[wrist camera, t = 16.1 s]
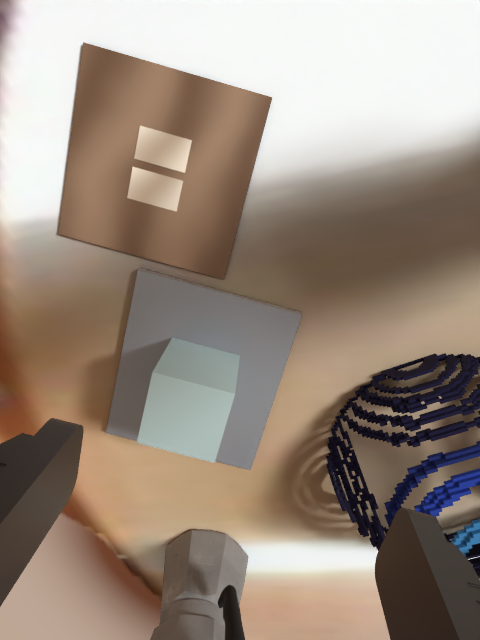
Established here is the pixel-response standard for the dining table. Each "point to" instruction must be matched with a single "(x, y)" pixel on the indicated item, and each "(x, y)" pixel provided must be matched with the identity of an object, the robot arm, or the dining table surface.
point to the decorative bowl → (475, 536)
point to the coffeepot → (202, 588)
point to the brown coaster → (159, 161)
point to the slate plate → (211, 331)
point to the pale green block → (189, 400)
